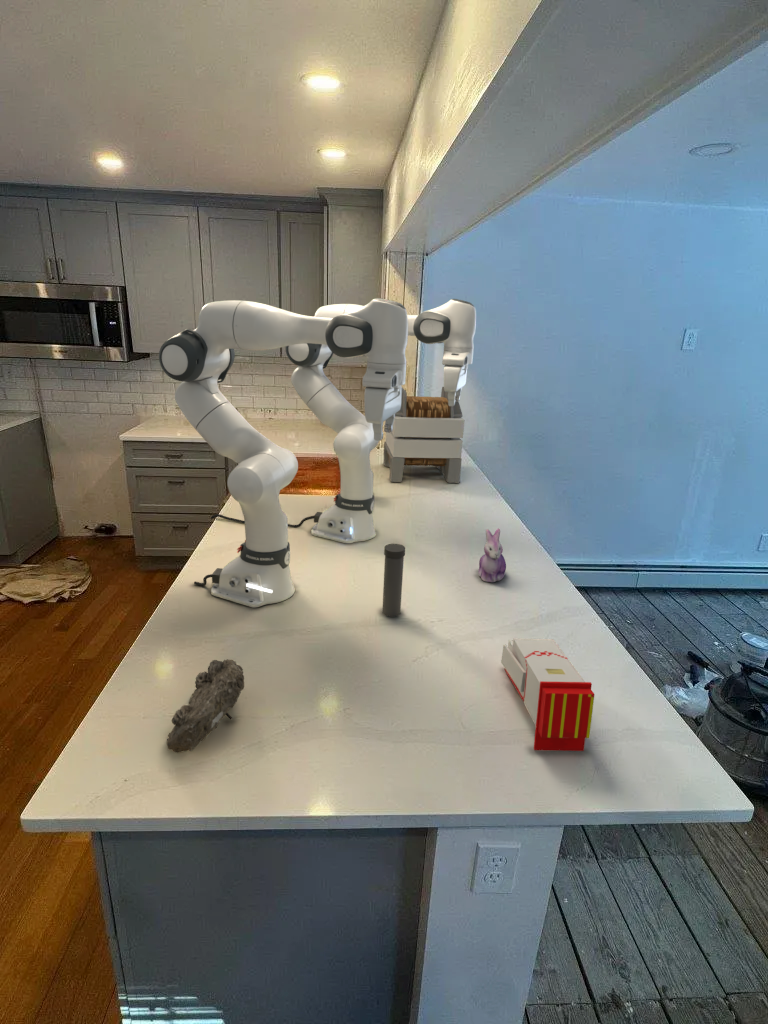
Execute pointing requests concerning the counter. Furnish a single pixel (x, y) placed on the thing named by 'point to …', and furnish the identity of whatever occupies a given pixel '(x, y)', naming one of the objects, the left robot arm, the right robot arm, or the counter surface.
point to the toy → (550, 693)
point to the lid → (394, 551)
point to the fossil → (206, 705)
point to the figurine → (492, 559)
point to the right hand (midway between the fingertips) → (454, 403)
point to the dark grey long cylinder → (392, 586)
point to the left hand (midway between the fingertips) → (383, 435)
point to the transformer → (425, 436)
